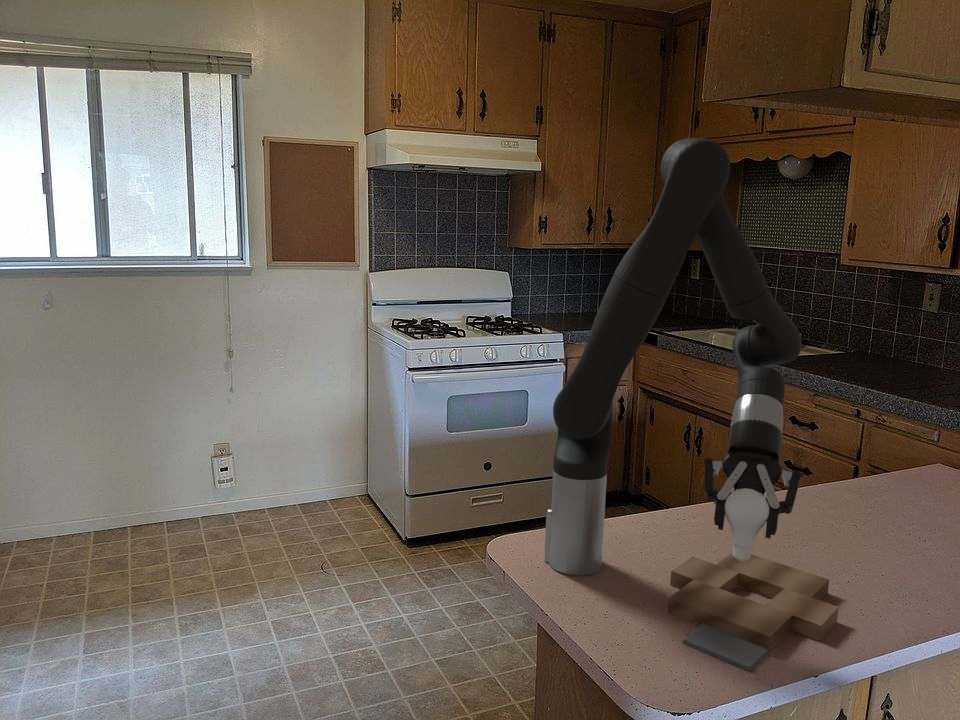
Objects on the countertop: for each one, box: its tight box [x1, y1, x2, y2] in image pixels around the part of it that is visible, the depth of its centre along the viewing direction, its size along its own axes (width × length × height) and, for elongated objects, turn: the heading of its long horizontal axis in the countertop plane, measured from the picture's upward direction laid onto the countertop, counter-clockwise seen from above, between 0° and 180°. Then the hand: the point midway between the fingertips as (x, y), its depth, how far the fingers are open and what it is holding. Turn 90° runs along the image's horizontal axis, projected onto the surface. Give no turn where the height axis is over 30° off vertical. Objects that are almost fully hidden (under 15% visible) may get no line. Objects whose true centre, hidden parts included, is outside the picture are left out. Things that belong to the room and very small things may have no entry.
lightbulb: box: [725, 488, 769, 562], centre depth 113 cm, size 6×6×11 cm
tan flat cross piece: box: [667, 552, 839, 653], centre depth 125 cm, size 24×24×2 cm
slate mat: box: [682, 623, 777, 672], centre depth 113 cm, size 10×9×1 cm
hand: (744, 531), depth 111 cm, fingers closed on lightbulb, 6 cm apart
